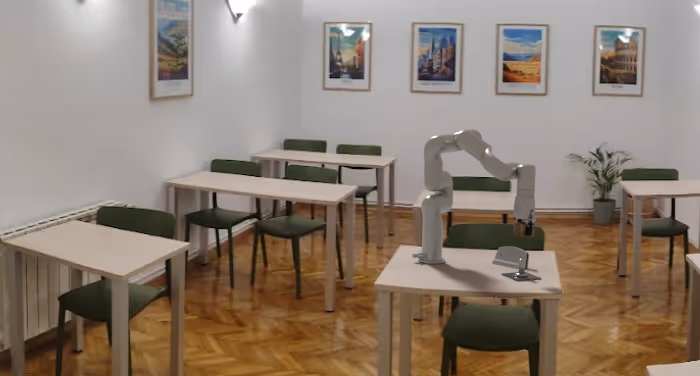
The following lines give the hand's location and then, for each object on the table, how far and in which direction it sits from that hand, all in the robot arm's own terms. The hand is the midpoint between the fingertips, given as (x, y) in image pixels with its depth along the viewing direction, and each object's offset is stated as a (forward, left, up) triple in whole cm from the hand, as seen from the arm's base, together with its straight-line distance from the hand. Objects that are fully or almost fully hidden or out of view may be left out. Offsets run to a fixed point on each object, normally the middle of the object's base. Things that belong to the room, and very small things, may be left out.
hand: (523, 233), depth 345 cm
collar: (0, 0, -1) cm, 1 cm away
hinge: (+9, +20, -20) cm, 30 cm away
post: (0, 0, -19) cm, 19 cm away
